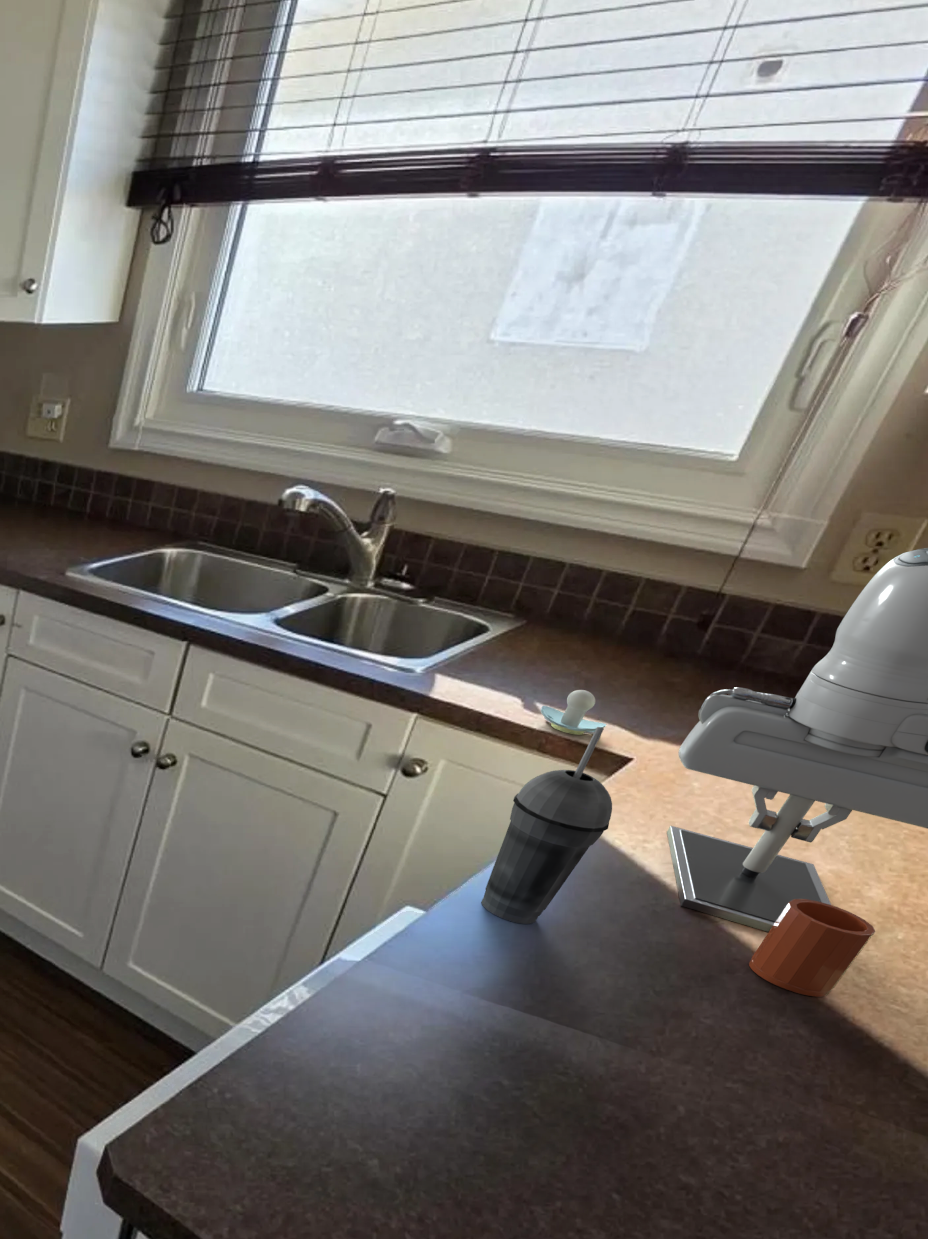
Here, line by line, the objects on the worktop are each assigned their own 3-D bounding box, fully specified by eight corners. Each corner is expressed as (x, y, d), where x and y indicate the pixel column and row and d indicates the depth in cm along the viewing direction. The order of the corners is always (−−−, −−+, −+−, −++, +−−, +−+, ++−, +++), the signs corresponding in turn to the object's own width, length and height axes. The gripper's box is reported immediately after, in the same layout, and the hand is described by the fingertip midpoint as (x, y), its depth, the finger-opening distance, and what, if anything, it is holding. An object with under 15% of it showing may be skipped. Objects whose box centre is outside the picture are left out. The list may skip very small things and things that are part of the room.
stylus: (760, 872, 109) (838, 762, 101) (761, 881, 108) (840, 769, 100) (737, 866, 110) (813, 756, 102) (738, 874, 109) (815, 764, 101)
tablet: (809, 870, 112) (814, 863, 111) (844, 955, 98) (850, 947, 97) (666, 831, 118) (670, 824, 118) (680, 905, 104) (685, 897, 104)
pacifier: (543, 716, 149) (530, 723, 145) (563, 676, 146) (550, 683, 143) (606, 735, 143) (593, 743, 140) (627, 694, 141) (615, 701, 137)
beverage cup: (466, 914, 101) (557, 734, 92) (463, 881, 106) (548, 708, 97) (557, 941, 97) (661, 757, 88) (549, 906, 103) (647, 729, 94)
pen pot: (823, 976, 95) (867, 915, 91) (834, 1005, 91) (881, 942, 88) (745, 951, 97) (785, 891, 94) (752, 979, 94) (794, 917, 90)
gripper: (718, 690, 103) (650, 808, 109) (1021, 755, 92) (926, 882, 98) (712, 674, 107) (647, 788, 113) (1001, 733, 96) (911, 856, 102)
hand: (779, 832), depth 106 cm, fingers closed on stylus, 2 cm apart
